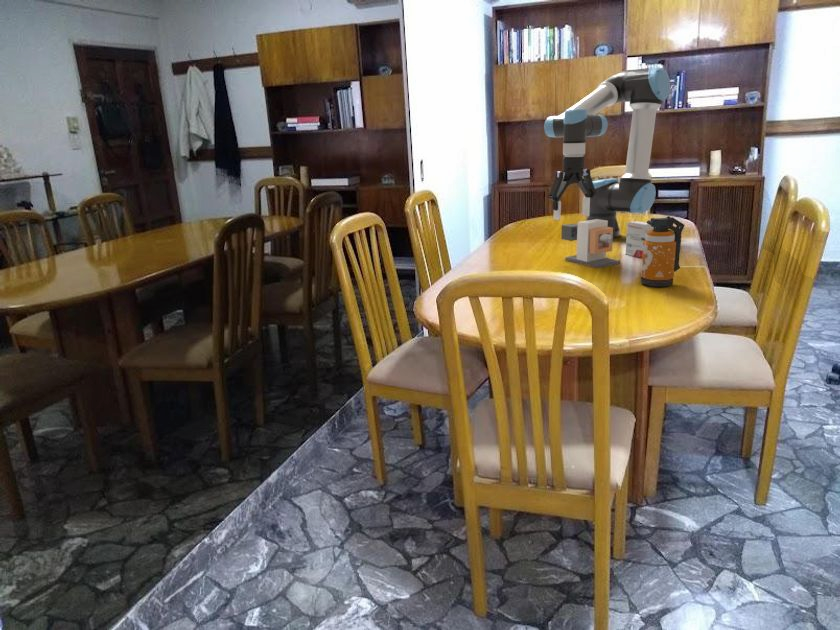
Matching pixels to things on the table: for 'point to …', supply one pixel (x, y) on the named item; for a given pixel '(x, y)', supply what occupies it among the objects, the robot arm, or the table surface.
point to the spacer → (595, 240)
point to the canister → (661, 252)
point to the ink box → (636, 237)
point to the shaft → (571, 234)
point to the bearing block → (584, 246)
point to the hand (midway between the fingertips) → (571, 217)
